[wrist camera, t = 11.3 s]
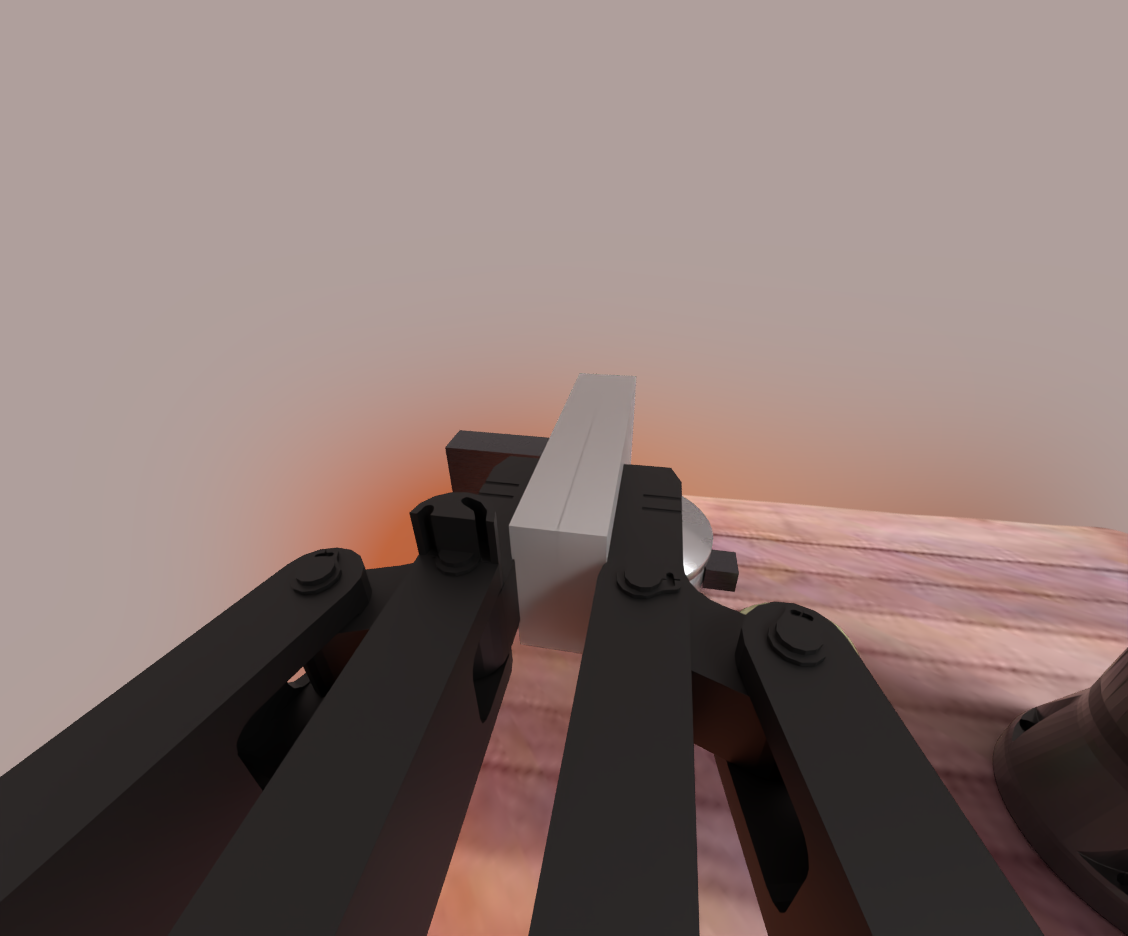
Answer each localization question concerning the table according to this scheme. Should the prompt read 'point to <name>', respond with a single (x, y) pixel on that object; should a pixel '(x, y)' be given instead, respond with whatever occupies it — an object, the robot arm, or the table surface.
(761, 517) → the table surface
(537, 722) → the table surface
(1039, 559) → the table surface
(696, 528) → the lid
